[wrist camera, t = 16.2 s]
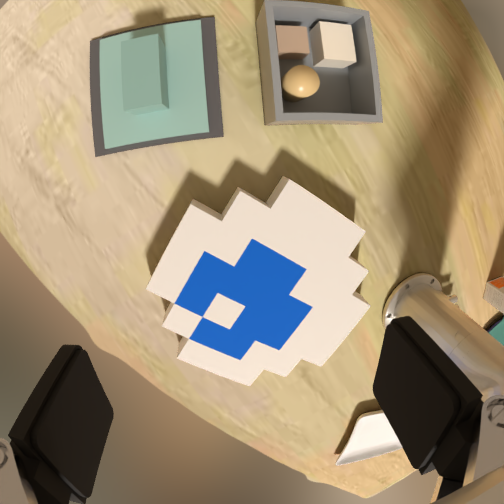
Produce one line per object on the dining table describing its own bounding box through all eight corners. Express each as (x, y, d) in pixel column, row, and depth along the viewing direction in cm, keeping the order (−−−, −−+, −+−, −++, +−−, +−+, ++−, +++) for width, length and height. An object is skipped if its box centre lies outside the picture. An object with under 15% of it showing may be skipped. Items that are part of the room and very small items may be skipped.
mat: (214, 18, 28) (214, 16, 28) (223, 136, 34) (223, 136, 33) (91, 42, 27) (90, 41, 26) (97, 156, 33) (95, 156, 32)
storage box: (345, 28, 30) (368, 11, 24) (355, 124, 35) (382, 122, 28) (255, 22, 29) (264, -1, 23) (264, 125, 34) (275, 121, 27)
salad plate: (331, 457, 61) (334, 467, 58) (354, 407, 54) (360, 418, 51) (398, 440, 64) (403, 449, 61) (429, 389, 57) (436, 398, 54)
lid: (201, 22, 28) (198, 2, 22) (209, 132, 33) (207, 129, 27) (102, 42, 27) (84, 27, 21) (107, 148, 32) (88, 150, 26)
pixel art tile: (291, 399, 45) (124, 334, 37) (286, 383, 49) (131, 318, 41) (403, 260, 39) (228, 141, 31) (389, 250, 42) (226, 141, 35)
